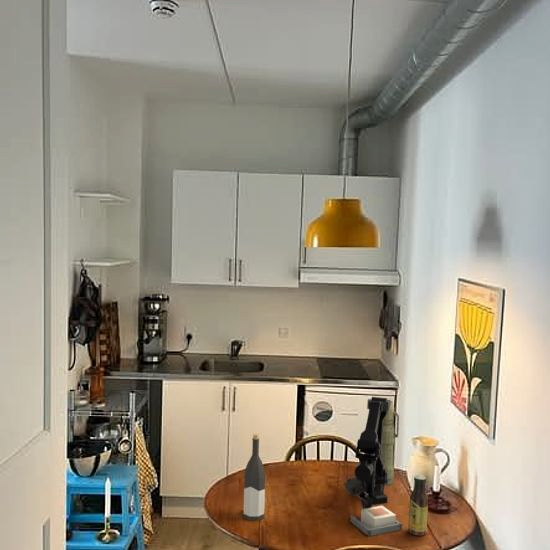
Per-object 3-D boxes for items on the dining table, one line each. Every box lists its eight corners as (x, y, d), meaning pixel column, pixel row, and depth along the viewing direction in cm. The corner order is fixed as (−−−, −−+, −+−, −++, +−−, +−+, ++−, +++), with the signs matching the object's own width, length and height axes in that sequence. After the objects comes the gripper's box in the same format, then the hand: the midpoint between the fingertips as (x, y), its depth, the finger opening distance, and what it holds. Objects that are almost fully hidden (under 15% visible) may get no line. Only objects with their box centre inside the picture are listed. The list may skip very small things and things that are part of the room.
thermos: (369, 476, 253) (371, 397, 252) (396, 479, 250) (399, 399, 249) (367, 484, 244) (370, 401, 243) (396, 487, 242) (399, 404, 241)
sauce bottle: (405, 528, 205) (407, 472, 204) (422, 528, 205) (424, 472, 205) (411, 537, 198) (413, 480, 198) (429, 537, 199) (431, 480, 198)
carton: (381, 518, 213) (382, 505, 213) (395, 528, 205) (396, 514, 205) (360, 522, 209) (361, 509, 209) (374, 533, 201) (374, 518, 201)
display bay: (383, 515, 214) (383, 510, 214) (402, 529, 204) (402, 523, 204) (350, 521, 209) (350, 516, 208) (368, 536, 198) (368, 530, 198)
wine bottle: (267, 513, 214) (270, 432, 213) (260, 522, 206) (262, 439, 205) (247, 509, 216) (249, 430, 215) (239, 518, 209) (241, 436, 208)
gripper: (335, 465, 217) (334, 506, 217) (362, 483, 200) (360, 528, 200) (360, 462, 221) (359, 502, 222) (389, 479, 204) (387, 523, 205)
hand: (365, 513), depth 212 cm, fingers closed
